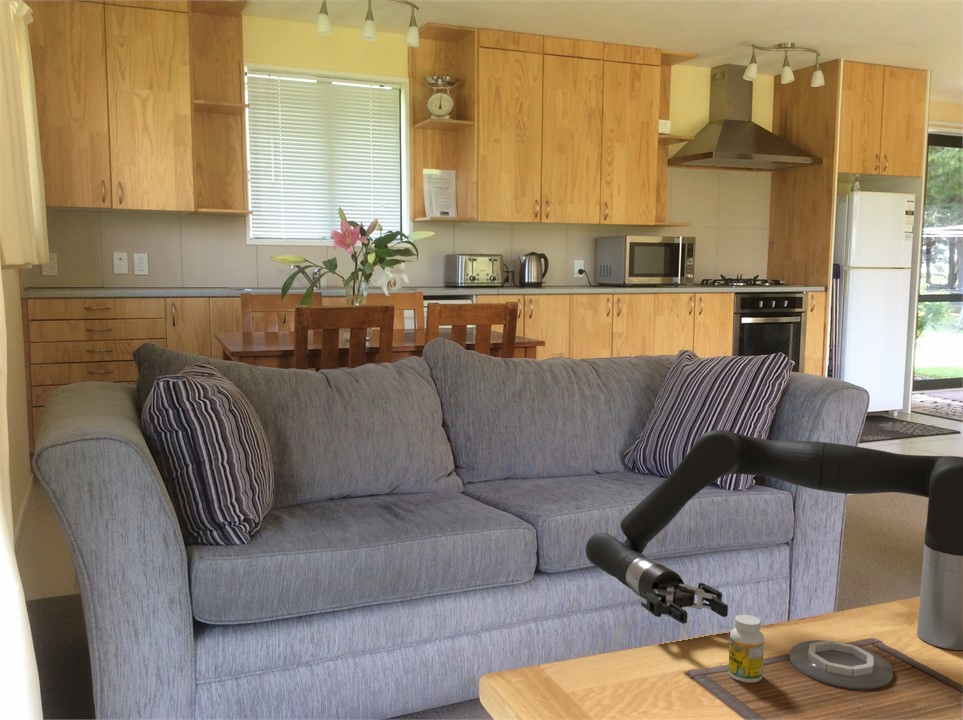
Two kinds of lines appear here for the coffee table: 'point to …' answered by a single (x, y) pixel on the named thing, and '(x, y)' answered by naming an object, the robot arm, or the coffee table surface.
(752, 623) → the supplement bottle
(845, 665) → the ringed coaster
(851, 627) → the coffee table surface
